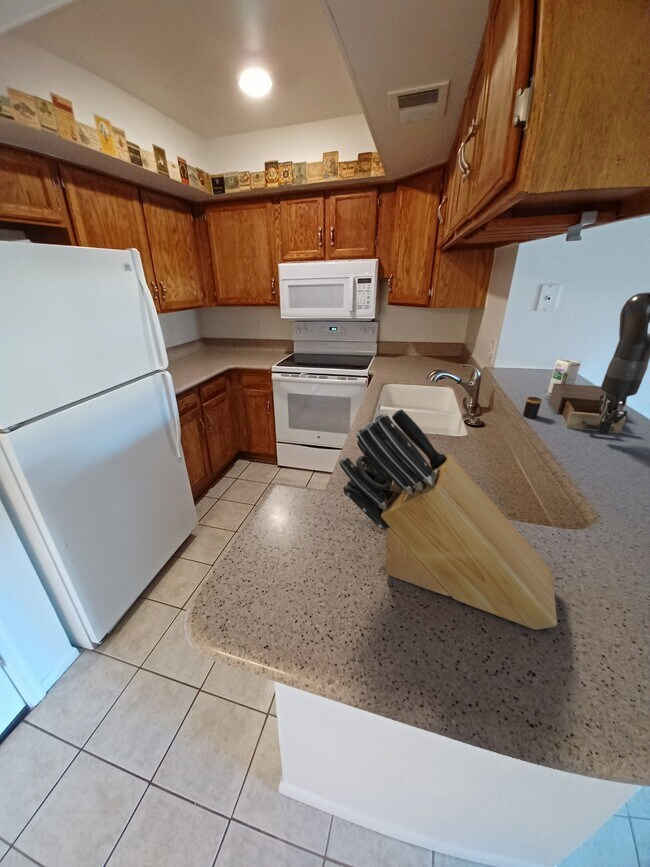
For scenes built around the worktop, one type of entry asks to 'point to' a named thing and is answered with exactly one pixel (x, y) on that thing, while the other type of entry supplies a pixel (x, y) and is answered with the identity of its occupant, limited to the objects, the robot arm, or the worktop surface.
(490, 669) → the worktop surface
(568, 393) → the cabinet
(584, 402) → the drawer
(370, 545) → the worktop surface
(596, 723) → the worktop surface
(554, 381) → the syrup box
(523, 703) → the worktop surface
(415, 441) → the knife block
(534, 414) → the spice tin
